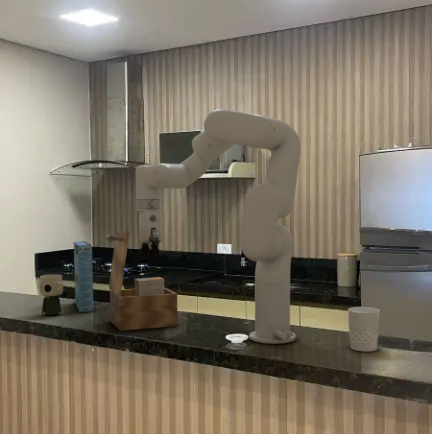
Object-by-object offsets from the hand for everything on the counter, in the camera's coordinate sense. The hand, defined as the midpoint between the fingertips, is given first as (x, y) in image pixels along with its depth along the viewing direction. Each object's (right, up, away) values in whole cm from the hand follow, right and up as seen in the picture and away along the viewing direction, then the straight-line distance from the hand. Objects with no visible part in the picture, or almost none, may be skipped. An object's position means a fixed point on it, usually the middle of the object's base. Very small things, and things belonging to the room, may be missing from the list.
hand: (149, 261), depth 184 cm
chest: (-2, -19, 0) cm, 19 cm away
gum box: (-27, -18, +28) cm, 43 cm away
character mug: (-34, -19, +15) cm, 42 cm away
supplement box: (0, -19, +1) cm, 19 cm away
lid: (-9, 0, -3) cm, 9 cm away
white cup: (+58, -21, -31) cm, 69 cm away
